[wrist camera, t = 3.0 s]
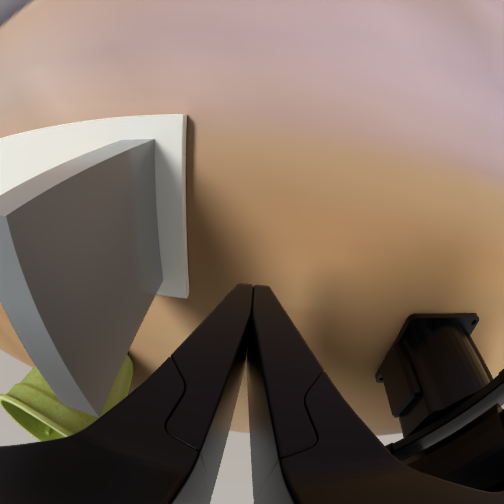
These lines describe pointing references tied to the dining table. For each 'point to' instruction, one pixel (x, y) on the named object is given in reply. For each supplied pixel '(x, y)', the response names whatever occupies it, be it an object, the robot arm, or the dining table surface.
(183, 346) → the robot arm
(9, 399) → the plant pot
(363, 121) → the dining table surface
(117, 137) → the white rectangular board
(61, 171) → the slate tile
